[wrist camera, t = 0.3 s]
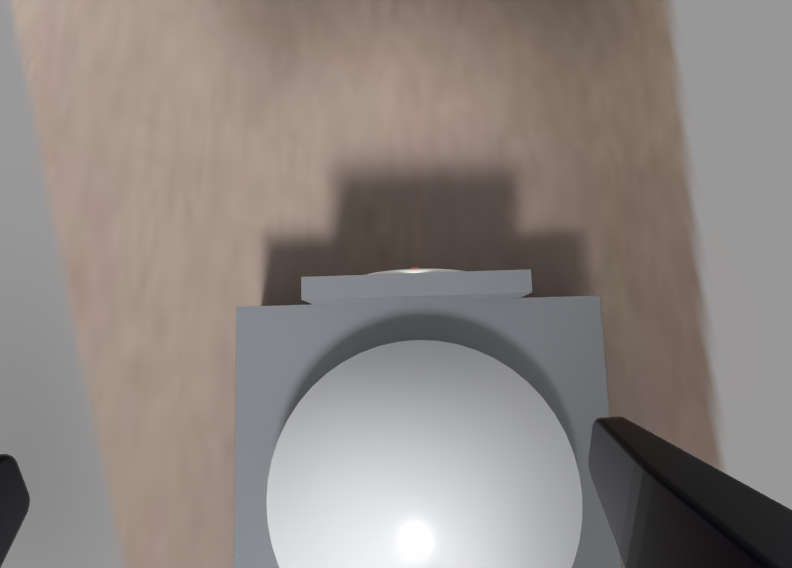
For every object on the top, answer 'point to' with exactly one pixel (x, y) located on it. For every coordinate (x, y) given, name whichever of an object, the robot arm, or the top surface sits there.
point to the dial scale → (420, 425)
